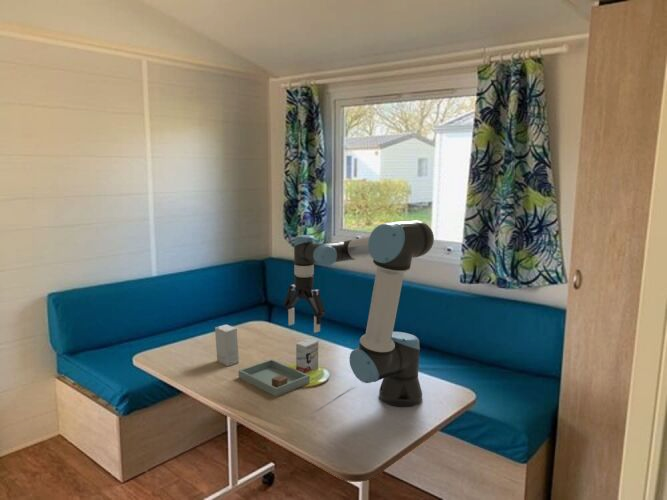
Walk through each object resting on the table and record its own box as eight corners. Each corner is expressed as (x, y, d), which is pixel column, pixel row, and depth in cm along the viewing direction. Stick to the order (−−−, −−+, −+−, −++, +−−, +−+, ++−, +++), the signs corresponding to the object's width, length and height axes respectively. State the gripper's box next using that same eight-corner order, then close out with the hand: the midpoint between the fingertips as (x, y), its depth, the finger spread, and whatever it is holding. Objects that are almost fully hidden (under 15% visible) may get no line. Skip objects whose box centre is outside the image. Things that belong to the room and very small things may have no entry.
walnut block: (287, 387, 181) (287, 377, 180) (280, 391, 178) (280, 381, 177) (279, 385, 183) (278, 374, 183) (271, 389, 180) (271, 378, 179)
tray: (309, 385, 186) (309, 375, 185) (275, 399, 174) (275, 389, 174) (272, 368, 201) (271, 359, 200) (238, 380, 189) (238, 370, 189)
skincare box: (239, 363, 206) (238, 328, 203) (226, 366, 202) (225, 331, 199) (228, 357, 212) (227, 323, 209) (215, 360, 208) (214, 326, 205)
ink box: (304, 375, 195) (305, 346, 193) (295, 372, 198) (295, 343, 196) (318, 368, 202) (319, 340, 200) (309, 365, 204) (309, 337, 202)
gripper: (335, 278, 188) (334, 332, 192) (287, 269, 204) (287, 319, 207) (322, 281, 183) (321, 337, 186) (274, 272, 198) (274, 323, 202)
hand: (303, 328), depth 197 cm, fingers open, 13 cm apart
